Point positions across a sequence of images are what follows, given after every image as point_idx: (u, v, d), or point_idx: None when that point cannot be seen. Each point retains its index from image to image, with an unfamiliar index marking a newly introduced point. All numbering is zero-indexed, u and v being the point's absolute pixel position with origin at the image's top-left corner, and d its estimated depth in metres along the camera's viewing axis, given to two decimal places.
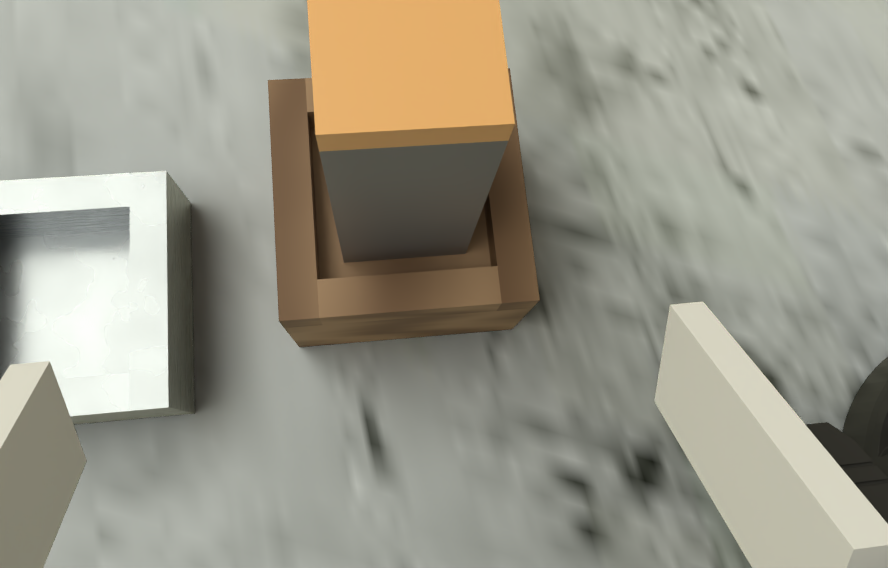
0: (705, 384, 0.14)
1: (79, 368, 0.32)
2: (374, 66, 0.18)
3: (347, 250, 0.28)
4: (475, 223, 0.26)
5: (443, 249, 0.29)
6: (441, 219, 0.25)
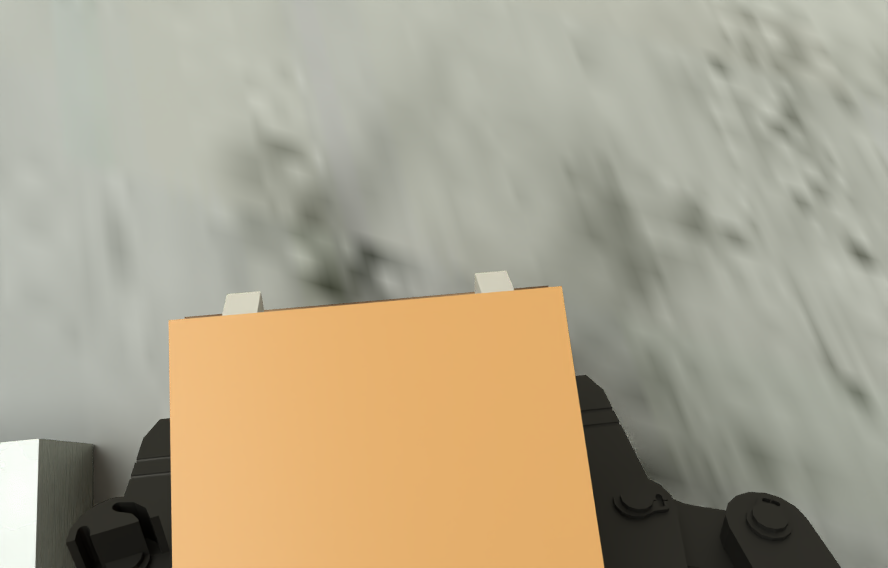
0: None
1: None
2: None
3: None
4: None
5: None
6: None
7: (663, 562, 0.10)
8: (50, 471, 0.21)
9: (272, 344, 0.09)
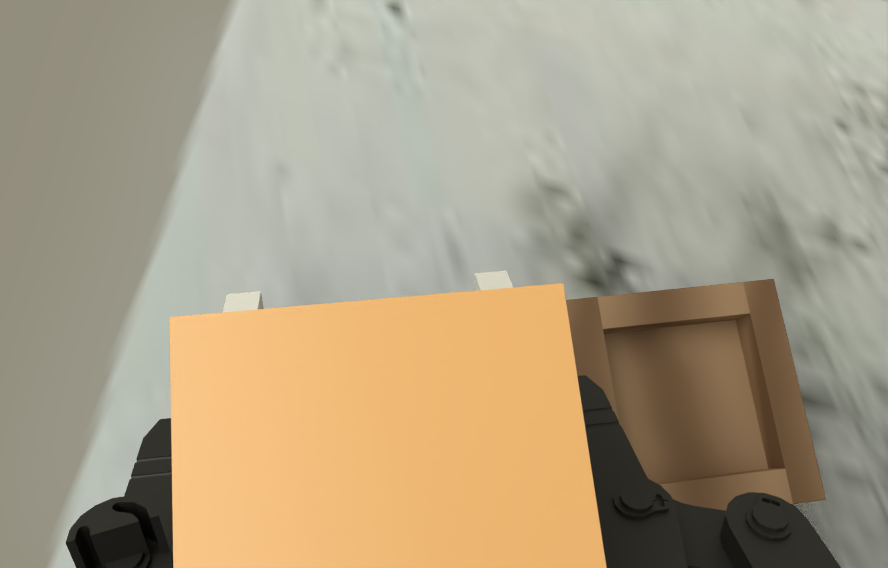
0: None
1: None
2: None
3: None
4: None
5: None
6: None
7: (663, 562, 0.10)
8: None
9: (273, 341, 0.09)
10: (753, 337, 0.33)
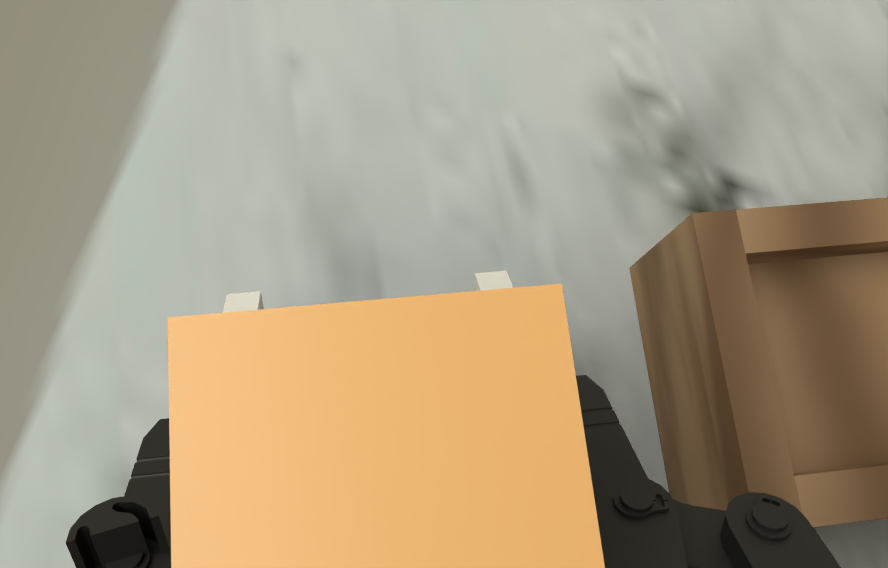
0: None
1: None
2: None
3: None
4: None
5: None
6: None
7: (663, 562, 0.10)
8: None
9: (271, 341, 0.09)
10: None
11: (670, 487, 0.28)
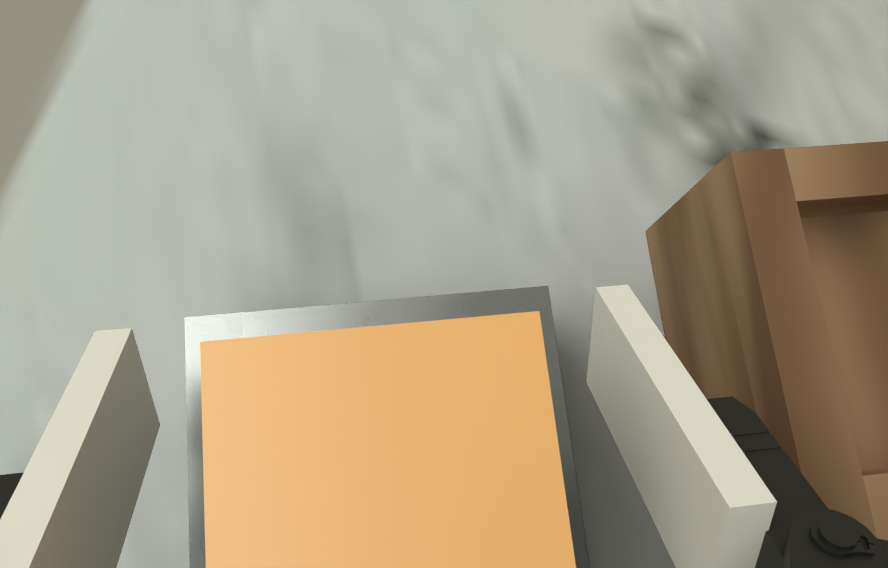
0: (622, 361, 0.15)
1: None
2: (326, 564, 0.10)
3: None
4: None
5: None
6: None
7: None
8: None
9: (289, 362, 0.10)
10: None
11: None
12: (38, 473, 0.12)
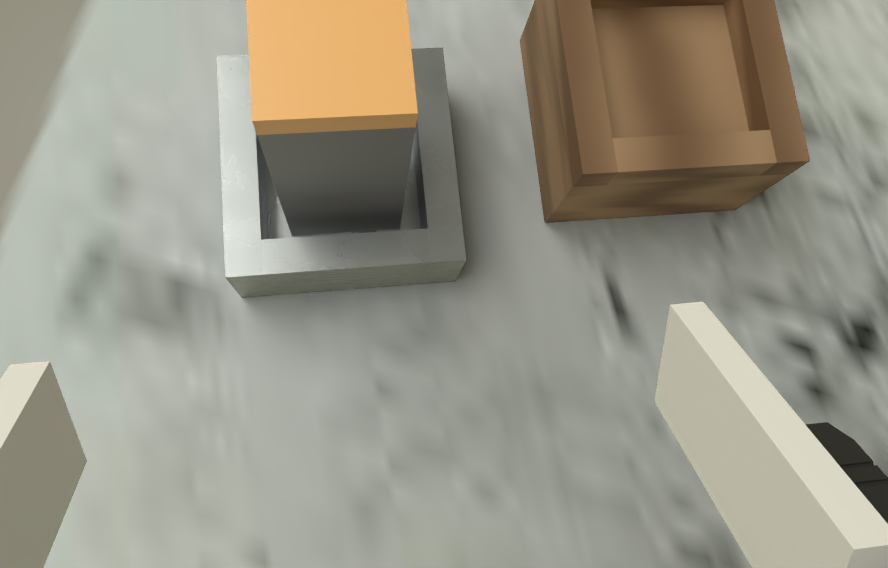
0: (705, 384, 0.14)
1: None
2: (302, 65, 0.22)
3: (293, 224, 0.32)
4: (402, 200, 0.30)
5: (379, 224, 0.33)
6: (372, 196, 0.29)
7: None
8: None
9: None
10: (741, 10, 0.32)
11: (542, 198, 0.36)
12: None
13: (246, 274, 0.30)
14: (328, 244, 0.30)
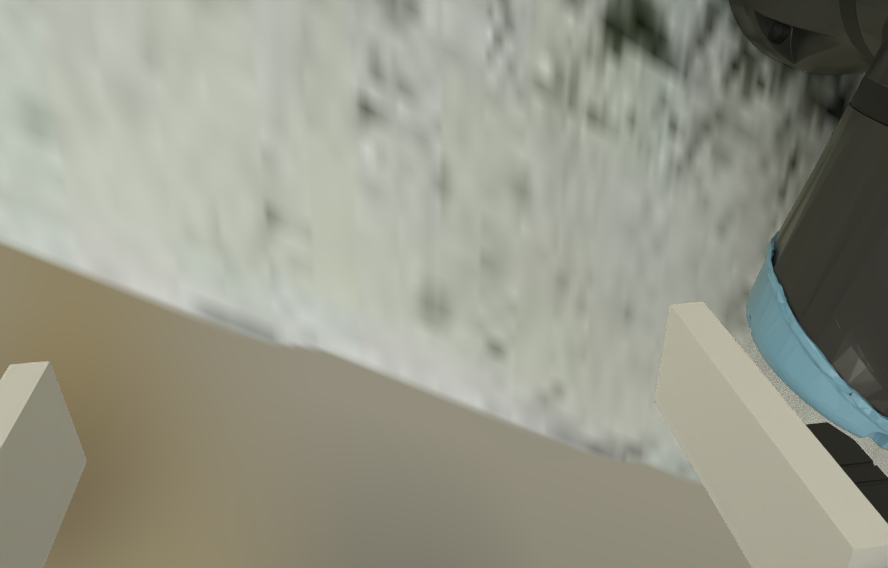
0: (705, 384, 0.14)
1: None
2: None
3: None
4: None
5: None
6: None
7: None
8: None
9: None
10: None
11: None
12: None
13: None
14: None
